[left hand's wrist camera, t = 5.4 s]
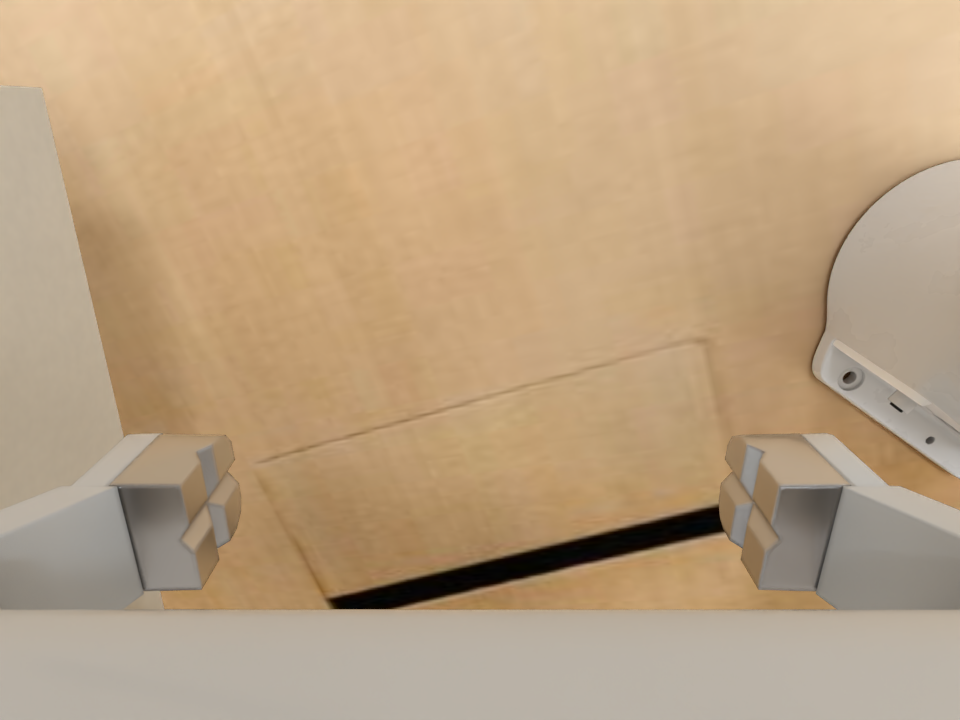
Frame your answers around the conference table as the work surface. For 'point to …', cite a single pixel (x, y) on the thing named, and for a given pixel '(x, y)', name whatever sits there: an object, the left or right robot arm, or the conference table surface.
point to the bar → (46, 322)
